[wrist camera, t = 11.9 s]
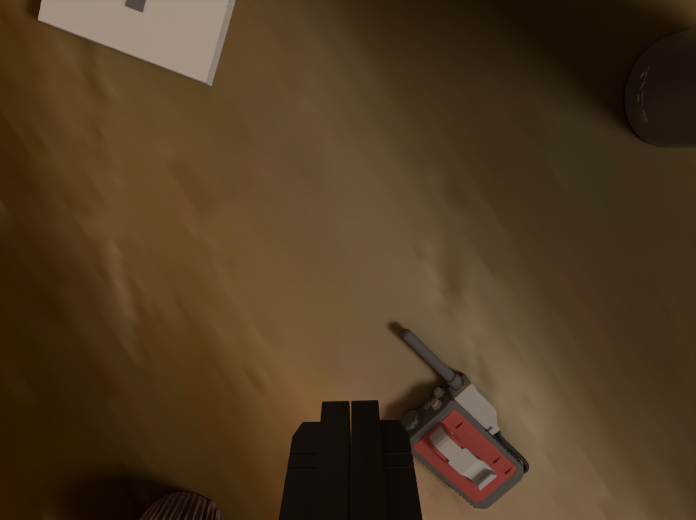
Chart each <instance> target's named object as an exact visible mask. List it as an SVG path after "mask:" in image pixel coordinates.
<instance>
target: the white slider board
mask: <svg viewBox="0 0 696 520" xmlns="http://www.w3.org/2000/svg"><path fill="white" fill-rule="evenodd" d="M235 1H236V0H42V1H41V6H40V11H39V16H38V20H39V21H42V22H44V23H46V24H48V25H50V26H52V27H54V28H57V29H60V30H62V31H65V32H68V33H70V34H73V35H76V36H78V37H81V38H84V39H86V40H89V41H92V42H94V43H97V44H100V45H102V46H105V47H108V48H110V49H113V50H116V51H118V52H121V53H124V54H126V55H129V56H132V57H134V58H137V59H140V60H142V61H145V62H148V63H150V64H153V65H156V66H158V67H161V68H163V69H166V70H169V71H171V72H174V73H177V74H179V75H182V76H185V77H187V78H190V79H193V80H195V81H198V82H201V83H203V84H206V85H209V86H212V82H213V79H214V75H215V72H216V68H217V65H218V61H219V58H220V54H221V50H222V47H223V43H224V40H225V36H226V33H227V29H228V26H229V22H230V18H231V15H232V11H233V8H234V4H235Z"/></svg>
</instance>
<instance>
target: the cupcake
mask: <svg viewBox="0 0 696 520" xmlns="http://www.w3.org/2000/svg"><path fill="white" fill-rule="evenodd" d="M139 520H224V516H223V515H222V513H221V512H220V509H219V507H218V506H216V505H215V503H214V501H211V500H207V499H205V498H203V497H201V496H200V495H198V494H196V493H190V492H184V491H183V492H175V493H171V494H166V495H165V496H163V497H161V498H158V499H157V500H155V501H154V502H153V503H152V505H151V506H150V507H149V508H148V509H147V510H146V511H145V513H144V514H143V515H142V516H141V518H140V519H139Z"/></svg>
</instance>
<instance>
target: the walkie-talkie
mask: <svg viewBox="0 0 696 520" xmlns="http://www.w3.org/2000/svg"><path fill="white" fill-rule="evenodd" d="M401 337H402V339H404V340H405V341H406V342H407V343H408V344H409V345H410V346H411V347H412V348H413V349H414V350H415V351H416V352H417V353H418V354H419V355H420V356H421V357H422V358H423V359H424V360H426V361H427V362H428V363H429V364H430V365H431V366H432V367H433V368H434V369H435V370H436V371H437V372H438V373H439V374H440V375H441V376H442V377H443V378H444V379H445V380H446V383H447V384H448V385H449V386H450V387H449V388H442V389H441V388H440V387H437V388H435V390H434V392H433V393H434V394H435V395H434V396H433V397H432V398H431V399H430V400H428V401H427V402H426V403H425V404H424V405H423V406H422V407H421V408H420V409H418V410H417V411H416V410H411V411H409V412H407V413H406V414H405V415H404V417H403V419H402V421H401V424H402V425H403V427H404V428H405V429H406V431H407V432H408V434H409V437H410V443H411V450H412V454H413V455H415V456H416V457H417V458H418V459H419V460H420V461H421V462H423V463H424V464H425V465H426V466H427V467H428V468H429V469H431V470H432V471H433V472H434V473H436V474H437V476H440V477H441V479H442V480H444V481H445V483H448V485H449V486H451V487H452V489H454V490H455V491H456V492H457V493H459V495H460V496H462V497H463V499H466V501H467V502H469V503H470V505H473V507H474V508H480V509H486V508H488V507H490V506H491V505H492V504H493V503H494V502H496V501H497V500H498V499H499V498H500V497H502V496H503V495H504V494H505V493H506V492H507V491H509V490H510V489H511V488H512V487H513V486H515V485H516V484H517V483H518V482H519V481H520V480H521V479H522V477H523V474H524V473H526V472H528V470H529V464H528V462H527V461H526V459H525V458H524V457H523V456H522V455H521V454H520V453H519V452H518V451H517V450H516V449H515V448H513V447H512V446H511V445H510V444H509V443H508V442H507V441H506V440H505V439H504V438H503V437H502V436H501V432H500V428H499V426H498V425H497V419H496V409H495V407H494V406H493V405H492V403H491V402H490V400H489V399H488V398H487V397H486V396H485V395H484V394H483V393H482V392H481V391H480V390H479V389H478V388H477V387H476V386H475V385H474V384H473V382H472V381H471V379H470V378H469V377H468V376H467V375H466V374H463V375H462V376H461V377H460V376H459V375H458V374H457V373H456V372H453V371H452V370H450V369H449V368H448V367H447V366H446V365H445V364H444V363H443V362H442V361H441V360H440V359H439V358H438V357H437V356H436V355H435V354H434V353H433V352H432V351H431V350H430V349H429V348H428V347H427V346H426V345H425V344H424V343H423V342H422V341H421V340H420V339H419V338H418V337H417V336H416V335H415V334H413V333H412V332H411V331H410V330H409V329H404V330H402V332H401ZM495 433H496V434H495ZM519 459H520V460H521V461H522V462H523V464H522V463H521V461H520V460H519Z"/></svg>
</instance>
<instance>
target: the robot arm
mask: <svg viewBox="0 0 696 520" xmlns="http://www.w3.org/2000/svg"><path fill="white" fill-rule="evenodd" d="M624 101H625V111H626V115H627V118H628V121H629V123H630V125H631V127H632V129H633V130H634V132H635V133H636V134H637V135H638V136H639V137H640V138H641V139H643V140H644V141H646V142H647V143H649V144H652V145H655V146H658V147H667V148H696V28H692V29H689V30H686V31H683V32H680V33H677V34H673V35H671V36H668V37H665V38H662V39H661V40H659V41H657V42H656V43H654V44H652V45H651V46H650V47H649V48H648V49H647V50H646V51H645V52H644V53H643V54H642V55H641V56H640V58H639V59H638V60H637V62H636V63H635V65H634V67H633V69H632V70H631V72H630V74H629V78H628V81H627V84H626V89H625V97H624ZM279 520H422V513H421V507H420V501H419V494H418V488H417V482H416V475H415V469H414V463H413V456H412V450H411V443H410V437H409V434H408V432H407V431H406V429H405V428H404V427H403V425H402V424H401V422H400V421H399V420H380V417H379V404H378V400H367V401H352V402H351V429H350V405H349V401H327V402H322V410H321V421H320V422H302V424H301V425H300V427H299V428H298V430H297V431H296V432H295V434H294V435H293V437H292V443H291V449H290V457H289V461H288V467H287V473H286V479H285V485H284V491H283V497H282V503H281V509H280V515H279Z"/></svg>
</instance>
